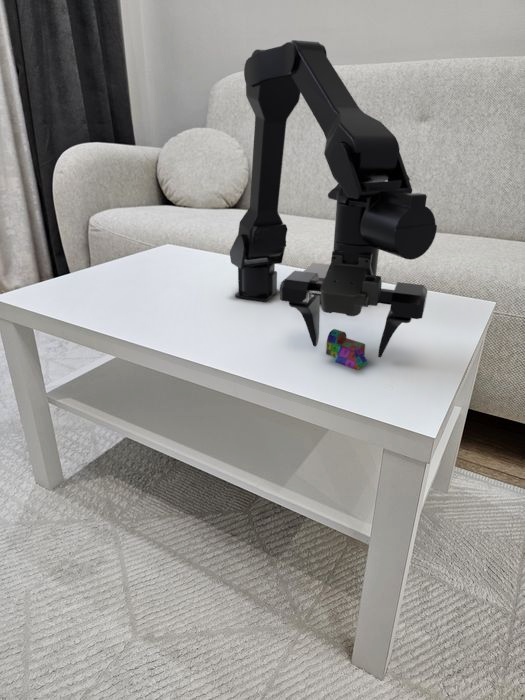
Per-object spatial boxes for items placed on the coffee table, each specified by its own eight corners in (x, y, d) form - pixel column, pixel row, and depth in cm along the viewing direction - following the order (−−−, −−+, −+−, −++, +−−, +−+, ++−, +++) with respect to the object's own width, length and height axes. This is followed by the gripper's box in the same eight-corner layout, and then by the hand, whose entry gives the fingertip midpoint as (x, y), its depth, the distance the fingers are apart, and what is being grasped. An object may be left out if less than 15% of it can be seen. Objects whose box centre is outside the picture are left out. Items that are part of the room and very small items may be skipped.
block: (320, 356, 68) (322, 335, 66) (336, 347, 71) (338, 326, 69) (357, 370, 64) (359, 347, 63) (372, 359, 67) (374, 337, 65)
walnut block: (297, 301, 88) (298, 275, 86) (311, 286, 96) (312, 262, 93) (345, 307, 85) (347, 281, 83) (355, 292, 93) (358, 267, 90)
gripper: (265, 248, 56) (264, 364, 63) (429, 264, 50) (409, 391, 57) (294, 229, 66) (291, 332, 73) (435, 241, 60) (417, 352, 66)
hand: (347, 350), depth 67 cm, fingers open, 9 cm apart
